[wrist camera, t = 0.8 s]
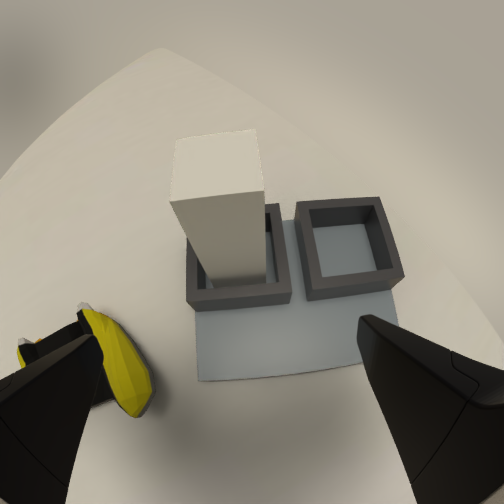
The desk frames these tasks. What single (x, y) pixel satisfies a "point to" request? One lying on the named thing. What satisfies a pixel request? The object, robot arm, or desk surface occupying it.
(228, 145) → the plug
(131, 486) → the desk surface
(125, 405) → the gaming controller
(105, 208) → the desk surface
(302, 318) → the board
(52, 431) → the robot arm
